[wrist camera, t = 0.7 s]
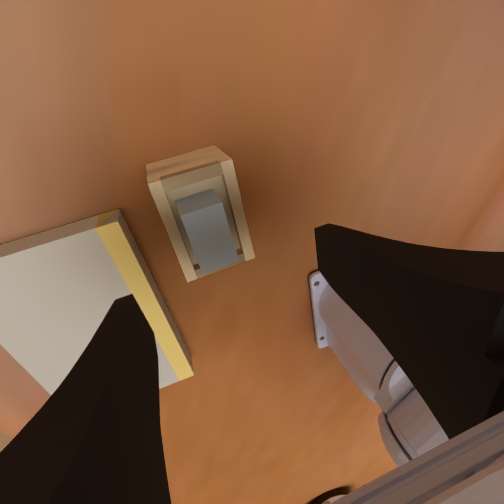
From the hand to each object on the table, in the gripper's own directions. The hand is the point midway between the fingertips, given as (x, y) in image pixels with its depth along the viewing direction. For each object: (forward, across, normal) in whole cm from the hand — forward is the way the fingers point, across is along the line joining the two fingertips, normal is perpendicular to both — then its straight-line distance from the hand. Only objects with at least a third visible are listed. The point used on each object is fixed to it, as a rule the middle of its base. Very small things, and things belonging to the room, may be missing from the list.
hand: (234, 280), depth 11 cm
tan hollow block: (+10, 0, 0) cm, 10 cm away
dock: (+9, +9, +6) cm, 14 cm away
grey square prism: (+6, 0, 0) cm, 6 cm away
